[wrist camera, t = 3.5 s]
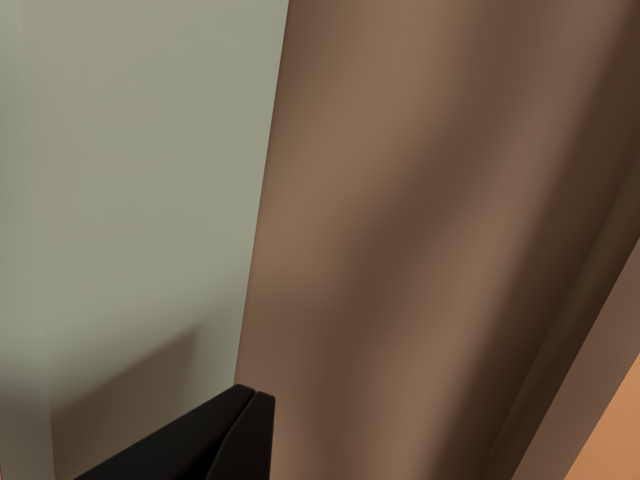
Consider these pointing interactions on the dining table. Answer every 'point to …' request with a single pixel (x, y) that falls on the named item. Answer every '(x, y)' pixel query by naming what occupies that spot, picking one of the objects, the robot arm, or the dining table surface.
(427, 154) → the brown shallow tray
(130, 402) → the tailgate
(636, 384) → the dining table surface
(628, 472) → the dining table surface
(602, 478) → the dining table surface
